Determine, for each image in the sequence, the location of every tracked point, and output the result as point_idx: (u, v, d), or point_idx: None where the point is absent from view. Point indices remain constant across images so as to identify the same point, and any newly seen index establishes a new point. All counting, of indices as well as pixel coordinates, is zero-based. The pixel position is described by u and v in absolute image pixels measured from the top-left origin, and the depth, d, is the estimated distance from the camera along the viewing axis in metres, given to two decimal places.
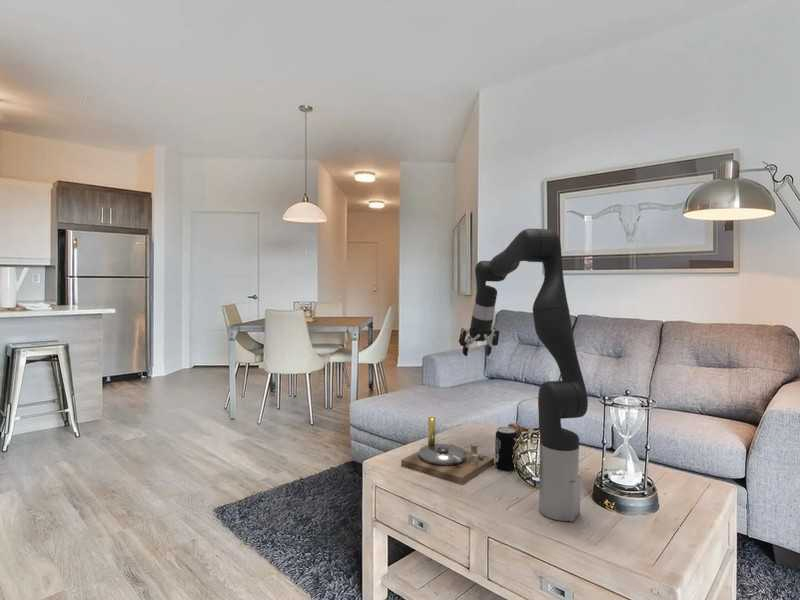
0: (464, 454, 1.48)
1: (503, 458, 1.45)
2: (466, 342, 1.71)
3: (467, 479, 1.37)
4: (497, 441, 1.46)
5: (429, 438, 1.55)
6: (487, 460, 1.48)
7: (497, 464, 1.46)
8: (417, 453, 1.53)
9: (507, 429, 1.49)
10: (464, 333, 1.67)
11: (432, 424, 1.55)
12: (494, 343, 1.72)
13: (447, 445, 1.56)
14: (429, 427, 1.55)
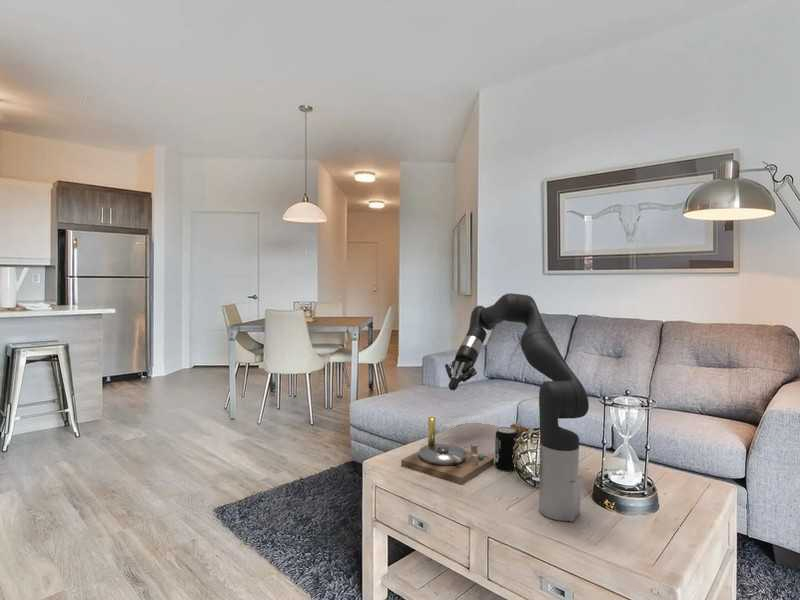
0: (464, 454, 1.48)
1: (503, 458, 1.45)
2: None
3: (467, 479, 1.37)
4: (497, 441, 1.46)
5: (429, 438, 1.55)
6: (487, 460, 1.48)
7: (497, 464, 1.46)
8: (417, 453, 1.53)
9: (507, 429, 1.49)
10: (446, 366, 1.73)
11: (432, 424, 1.55)
12: (461, 376, 1.67)
13: (447, 445, 1.56)
14: (429, 427, 1.55)
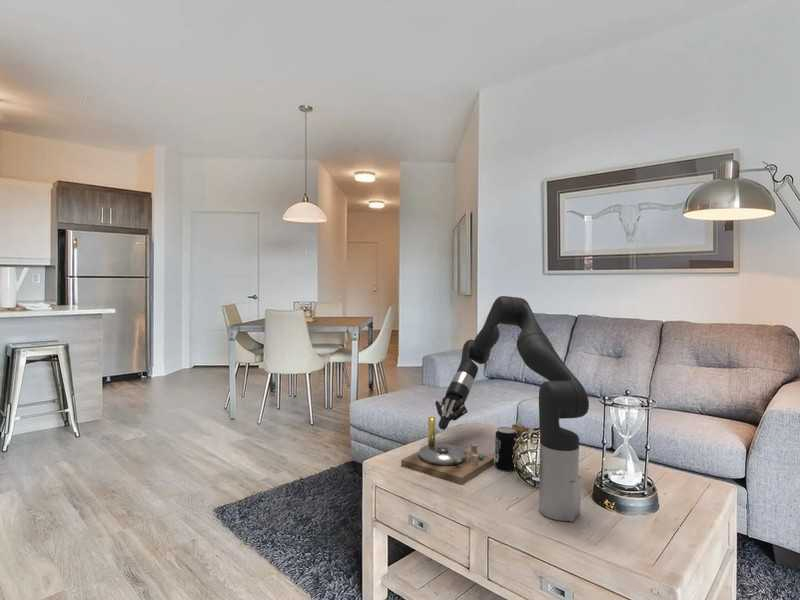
0: (464, 454, 1.48)
1: (503, 458, 1.45)
2: None
3: (467, 479, 1.37)
4: (497, 441, 1.46)
5: (429, 438, 1.55)
6: (487, 460, 1.48)
7: (497, 464, 1.46)
8: (417, 453, 1.53)
9: (507, 429, 1.49)
10: (436, 403, 1.69)
11: (432, 424, 1.55)
12: (451, 415, 1.63)
13: (447, 445, 1.56)
14: (429, 427, 1.55)
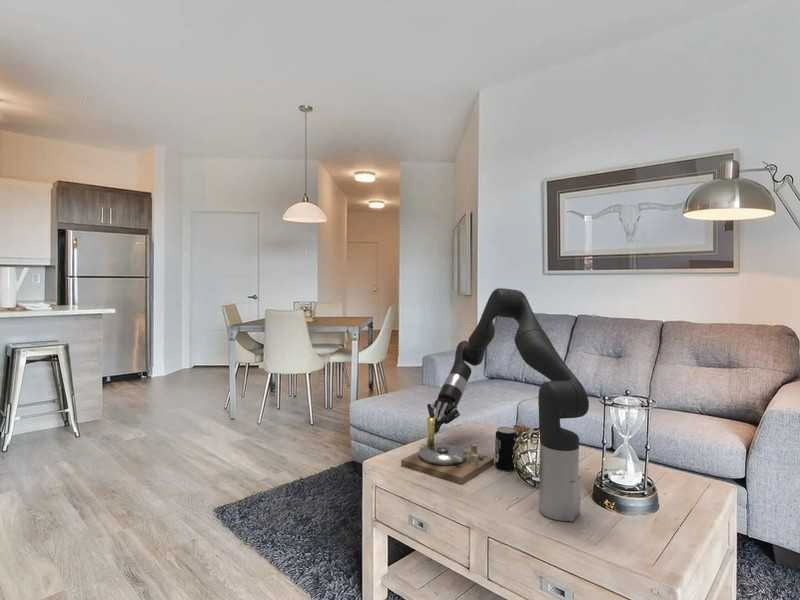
0: (464, 453, 1.49)
1: (503, 458, 1.45)
2: None
3: (467, 479, 1.37)
4: (497, 441, 1.46)
5: (428, 438, 1.55)
6: (487, 460, 1.48)
7: (497, 464, 1.46)
8: (417, 453, 1.53)
9: (507, 429, 1.49)
10: (428, 405, 1.65)
11: (431, 424, 1.55)
12: (443, 418, 1.59)
13: (446, 445, 1.56)
14: (428, 427, 1.55)
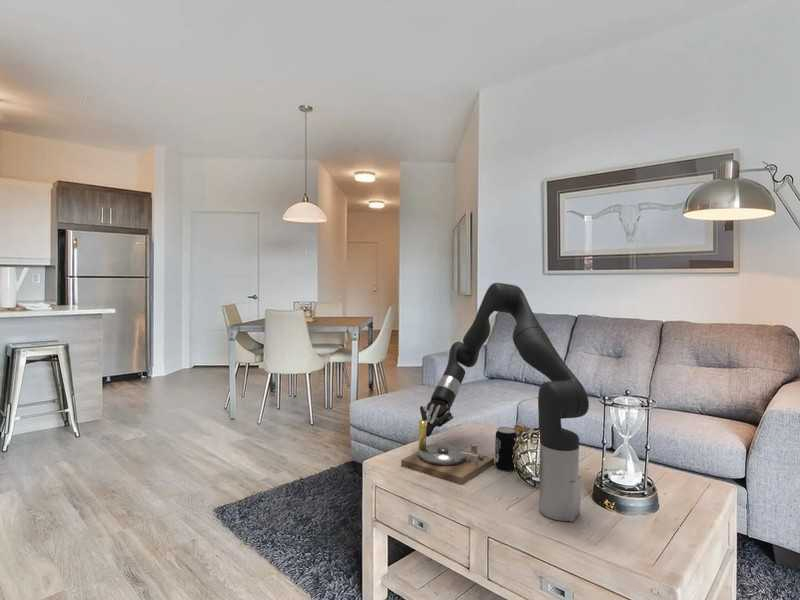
0: (461, 449, 1.53)
1: (503, 458, 1.45)
2: None
3: (467, 479, 1.37)
4: (497, 441, 1.46)
5: (422, 442, 1.52)
6: (487, 460, 1.48)
7: (497, 464, 1.46)
8: (417, 453, 1.53)
9: (507, 429, 1.49)
10: (421, 408, 1.61)
11: (425, 426, 1.52)
12: (435, 421, 1.55)
13: (434, 445, 1.56)
14: (422, 430, 1.52)
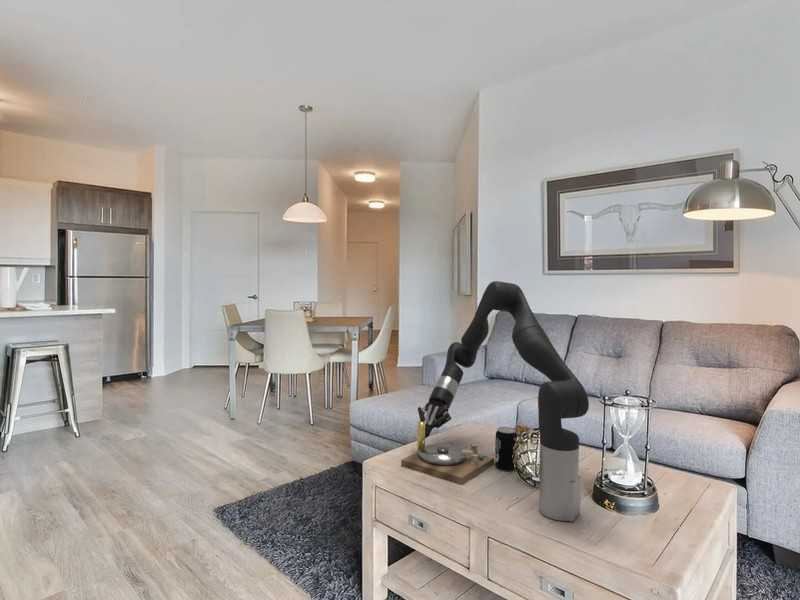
0: (459, 447, 1.54)
1: (503, 458, 1.45)
2: None
3: (467, 479, 1.37)
4: (497, 441, 1.46)
5: (422, 443, 1.50)
6: (487, 460, 1.48)
7: (497, 464, 1.46)
8: (417, 453, 1.53)
9: (507, 429, 1.49)
10: (419, 409, 1.60)
11: (424, 428, 1.51)
12: (434, 422, 1.54)
13: (430, 445, 1.55)
14: (422, 432, 1.50)
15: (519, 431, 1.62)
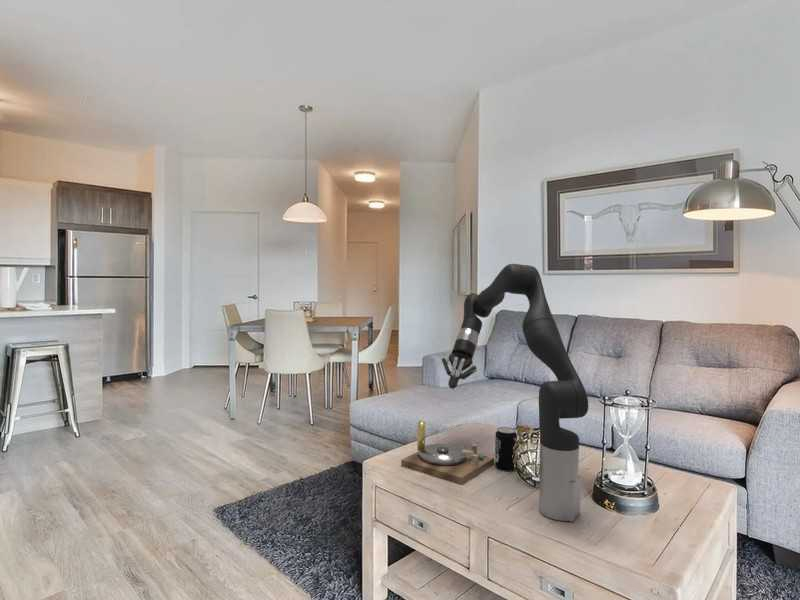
0: (458, 447, 1.54)
1: (503, 458, 1.45)
2: None
3: (467, 479, 1.37)
4: (497, 441, 1.46)
5: (422, 443, 1.50)
6: (487, 460, 1.48)
7: (497, 464, 1.46)
8: (417, 453, 1.53)
9: (507, 429, 1.49)
10: (443, 360, 1.64)
11: (424, 428, 1.51)
12: (461, 374, 1.61)
13: (430, 445, 1.55)
14: (422, 432, 1.50)
15: (521, 431, 1.62)
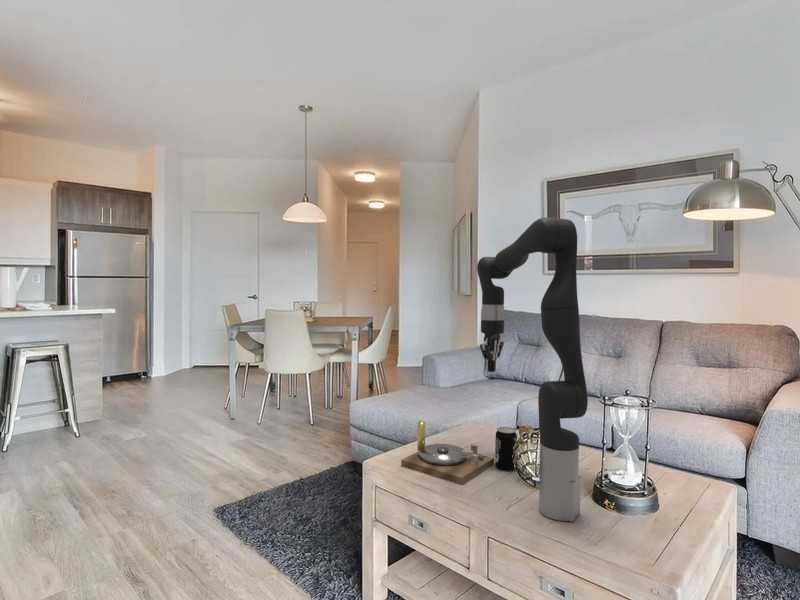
0: (458, 447, 1.54)
1: (503, 458, 1.45)
2: None
3: (467, 479, 1.37)
4: (497, 441, 1.46)
5: (422, 443, 1.50)
6: (487, 460, 1.48)
7: (497, 464, 1.46)
8: (417, 453, 1.53)
9: (507, 429, 1.49)
10: (487, 347, 1.48)
11: (424, 428, 1.51)
12: (497, 355, 1.54)
13: (430, 445, 1.55)
14: (422, 432, 1.50)
15: None
